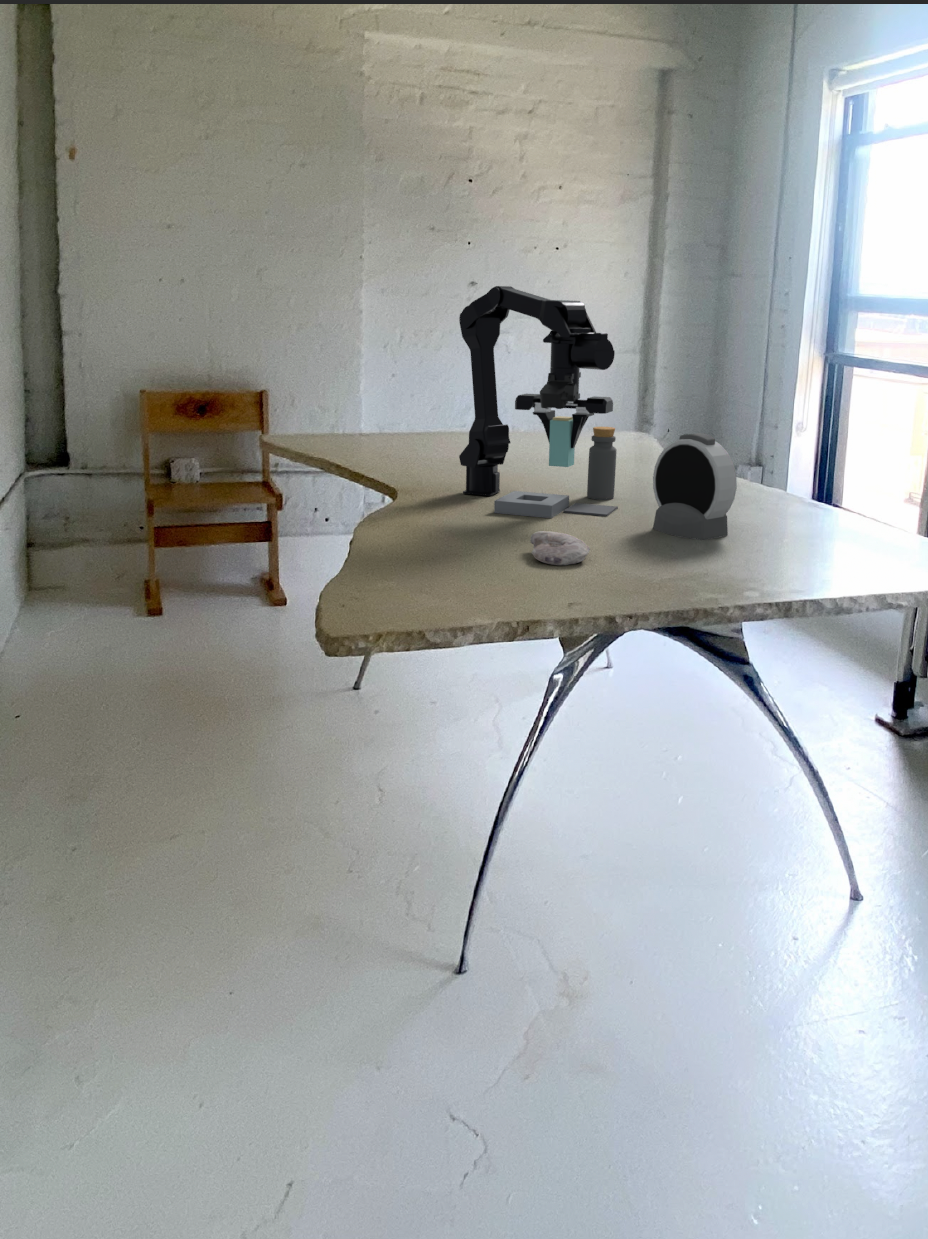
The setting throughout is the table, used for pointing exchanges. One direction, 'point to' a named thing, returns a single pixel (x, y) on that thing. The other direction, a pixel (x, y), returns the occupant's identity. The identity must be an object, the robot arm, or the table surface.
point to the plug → (561, 442)
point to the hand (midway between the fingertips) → (562, 447)
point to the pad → (591, 509)
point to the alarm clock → (694, 488)
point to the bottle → (602, 464)
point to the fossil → (558, 548)
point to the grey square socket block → (531, 504)
